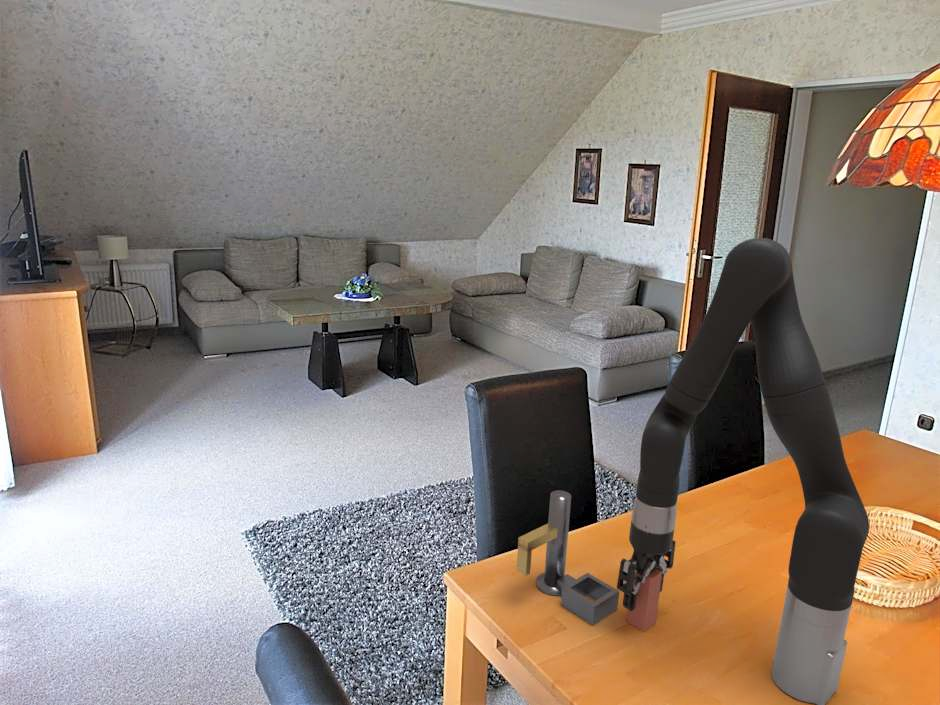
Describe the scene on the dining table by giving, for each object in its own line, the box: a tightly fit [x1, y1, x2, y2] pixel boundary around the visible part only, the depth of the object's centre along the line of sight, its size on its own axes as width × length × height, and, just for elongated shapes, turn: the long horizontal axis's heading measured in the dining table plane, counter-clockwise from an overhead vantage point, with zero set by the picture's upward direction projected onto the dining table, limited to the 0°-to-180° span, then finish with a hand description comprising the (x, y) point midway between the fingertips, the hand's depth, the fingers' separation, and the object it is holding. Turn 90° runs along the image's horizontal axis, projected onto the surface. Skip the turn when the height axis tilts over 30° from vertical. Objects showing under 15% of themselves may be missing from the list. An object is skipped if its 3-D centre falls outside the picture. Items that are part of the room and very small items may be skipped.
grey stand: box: [516, 489, 620, 626], centre depth 127 cm, size 16×14×20 cm
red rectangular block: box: [626, 569, 662, 633], centre depth 124 cm, size 4×4×11 cm
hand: (642, 599), depth 124 cm, fingers open, 8 cm apart
